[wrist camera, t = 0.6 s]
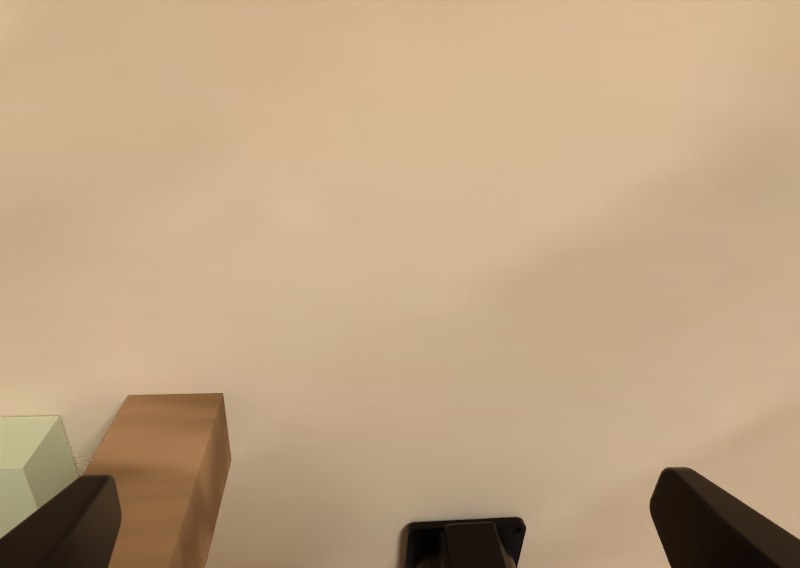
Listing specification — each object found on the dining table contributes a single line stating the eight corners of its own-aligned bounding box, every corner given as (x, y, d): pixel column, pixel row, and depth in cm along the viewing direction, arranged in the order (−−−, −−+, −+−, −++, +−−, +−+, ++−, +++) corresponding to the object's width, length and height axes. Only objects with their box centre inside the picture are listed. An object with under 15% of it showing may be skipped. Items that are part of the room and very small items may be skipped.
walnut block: (231, 459, 25) (180, 667, 17) (143, 463, 25) (48, 678, 17) (222, 393, 23) (161, 590, 15) (128, 395, 23) (13, 599, 15)
